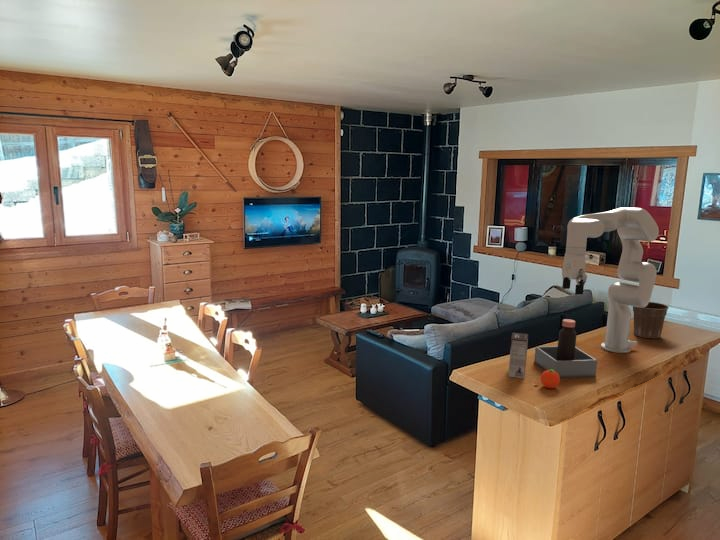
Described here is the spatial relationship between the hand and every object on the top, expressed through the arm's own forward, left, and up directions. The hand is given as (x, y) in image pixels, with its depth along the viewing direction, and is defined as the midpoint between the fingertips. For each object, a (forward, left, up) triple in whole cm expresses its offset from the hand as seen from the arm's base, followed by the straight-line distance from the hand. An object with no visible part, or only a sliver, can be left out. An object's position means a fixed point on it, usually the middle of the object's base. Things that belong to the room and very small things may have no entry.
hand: (572, 291), depth 213 cm
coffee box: (+25, +7, -33) cm, 42 cm away
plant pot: (-64, -36, -33) cm, 80 cm away
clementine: (+18, +21, -33) cm, 43 cm away
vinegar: (+3, +4, -32) cm, 32 cm away
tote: (+3, +4, -32) cm, 33 cm away
